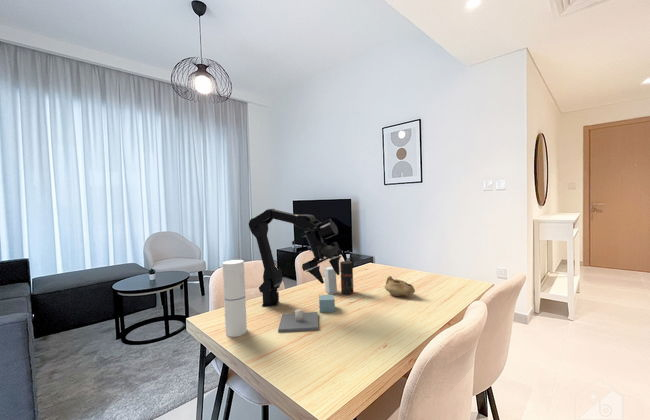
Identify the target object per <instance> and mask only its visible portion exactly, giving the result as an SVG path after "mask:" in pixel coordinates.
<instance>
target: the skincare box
mask: <svg viewBox="0 0 650 420" xmlns="http://www.w3.org/2000/svg"><path fill="white" fill-rule="evenodd" d="M323 273H324V275H323V276H324V286H325V288H324V289H325V292H326V293H328V295H335V294H337V293H338V287H337V286H338V285H337V274H336V273H335V271H334V269H333V267H332V266H326V267H323Z"/></svg>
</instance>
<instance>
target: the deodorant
mask: <svg viewBox="0 0 650 420" xmlns="http://www.w3.org/2000/svg"><path fill="white" fill-rule="evenodd" d="M353 267H354V265H353V261H350V260H343V261H339V268H340V286H341V288H340V289H341V292H340V293H341V294H342V295H346V296H347V295H352V294H354V272H353V271H354V270H353V269H354V268H353Z"/></svg>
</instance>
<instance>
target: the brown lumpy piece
mask: <svg viewBox="0 0 650 420" xmlns="http://www.w3.org/2000/svg"><path fill="white" fill-rule="evenodd" d="M384 289H385V291H386V292H388V293H389V294H390V295H392V296H394V297H404V296H410V295H414V293H415V292H416V289H415V288H414V285H413V284H411V283H408V282H407V281H404V280H401V279H394V278H393V277H392V276H391V275H388V277H387V278H386V280H385V286H384Z"/></svg>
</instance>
